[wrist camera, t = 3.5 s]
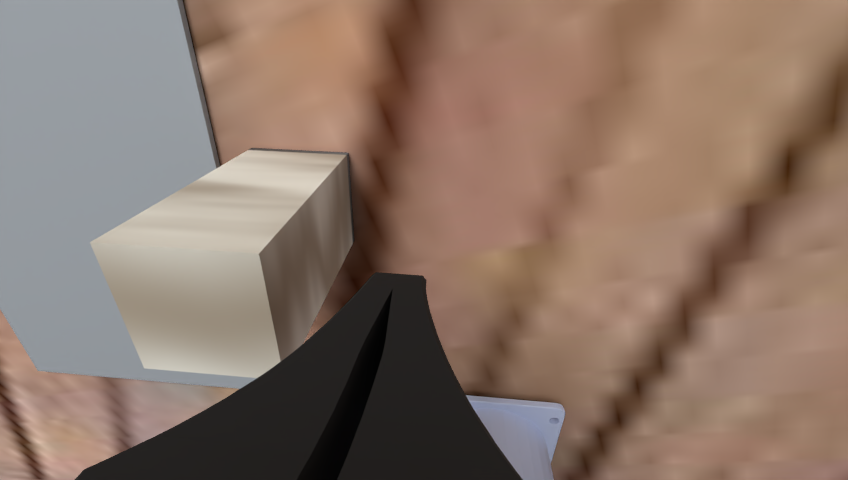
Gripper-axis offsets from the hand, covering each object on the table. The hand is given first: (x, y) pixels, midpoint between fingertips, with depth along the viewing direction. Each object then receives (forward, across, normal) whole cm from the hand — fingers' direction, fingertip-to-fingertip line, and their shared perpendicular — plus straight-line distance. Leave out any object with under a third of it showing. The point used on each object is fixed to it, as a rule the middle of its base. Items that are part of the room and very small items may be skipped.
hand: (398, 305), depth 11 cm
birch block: (+7, +5, 0) cm, 9 cm away
